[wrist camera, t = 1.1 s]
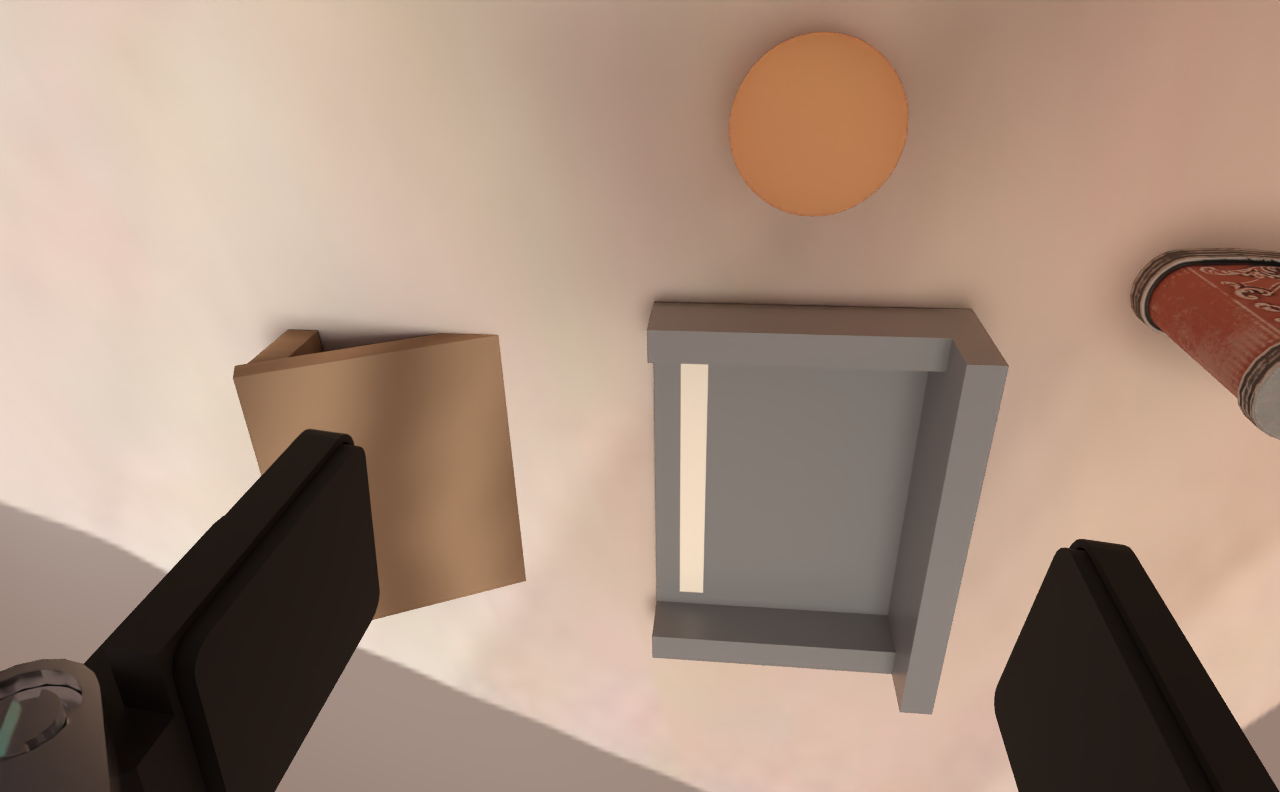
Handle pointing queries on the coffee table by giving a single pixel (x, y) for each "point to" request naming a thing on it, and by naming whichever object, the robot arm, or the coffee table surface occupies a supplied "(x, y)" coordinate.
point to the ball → (818, 124)
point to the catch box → (818, 483)
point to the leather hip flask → (1221, 319)
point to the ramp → (405, 451)
